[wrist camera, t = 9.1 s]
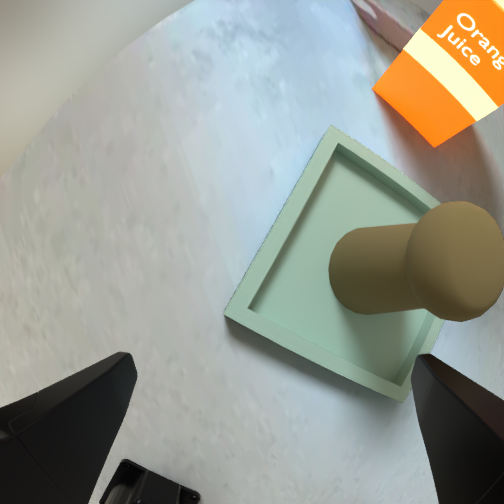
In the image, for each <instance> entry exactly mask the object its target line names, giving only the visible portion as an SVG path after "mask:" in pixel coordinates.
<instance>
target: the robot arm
mask: <svg viewBox="0 0 504 504" xmlns="http://www.w3.org/2000/svg"><path fill="white" fill-rule="evenodd" d="M136 381H137V370H136V367H135V364H134V361H133V357H132V355H131V354H130V353H127V352H117V353H115V354H113V355H111V356H109V357H107V358H105V359H103V360H101V361H99V362H97V363H95V364H93V365H91V366H89V367H87V368H85V369H83V370H81V371H79V372H77V373H75V374H73V375H71V376H69V377H67V378H65V379H63V380H61V381H59V382H57V383H55V384H53V385H51V386H49V387H46V388H44V389H42V390H40V391H39V392H36V393H34V394H32V395H30V396H28V397H25V398H23V399H21V400H19V401H16V402H14V403H11V404H9V405H6V406H3V407H1V408H0V504H88V503H89V500H90V498H91V495H92V493H93V490H94V488H95V485H96V483H97V480H98V478H99V475H100V473H101V471H102V468H103V466H104V463H105V461H106V459H107V456H108V454H109V452H110V449H111V447H112V445H113V442H114V440H115V438H116V435H117V433H118V431H119V429H120V426H121V424H122V422H123V419H124V417H125V415H126V412H127V409H128V406H129V402H130V399H131V396H132V393H133V390H134V387H135V384H136ZM411 385H412V390H413V395H414V401H415V406H416V412H417V417H418V422H419V426H420V430H421V433H422V436H423V440H424V444H425V447H426V451H427V455H428V459H429V462H430V466H431V470H432V475H433V479H434V483H435V487H436V492H437V496H438V501H439V504H504V400H502V399H501V398H499V397H498V396H496V395H495V394H493V393H491V392H490V391H488V390H487V389H485V388H484V387H482V386H480V385H479V384H477V383H476V382H474V381H473V380H471V379H469V378H468V377H466V376H465V375H463V374H461V373H460V372H458V371H457V370H455V369H454V368H452V367H450V366H449V365H447V364H446V363H444V362H442V361H441V360H439V359H438V358H436V357H435V356H433V355H431V354H429V353H426V354H419V355H417V357H416V359H415V363H414V366H413V370H412V374H411ZM125 464H127V465H128V466H129V467H127V466H125ZM191 496H195V498H193V497H191ZM199 500H200V494H199V493H198V492H196V491H194V490H191V489H189V488H186V487H184V486H182V485H179V484H178V483H175V482H173V481H171V480H169V479H167V478H164V477H162V476H160V475H158V474H156V473H154V472H152V471H150V470H148V469H146V468H144V467H142V466H140V465H138V464H136V463H134V462H132V461H130V460H128V459H123V460H122V461H121V462H120V464H119V466H118V468H117V470H116V472H115V473H114V475H113V477H112V479H111V481H110V483H109V485H108V486H107V488H106V490H105V492H104V494H103V496H102V498H101V499H100V501H99V503H100V504H197V503H198V502H199ZM104 502H105V503H104Z"/></svg>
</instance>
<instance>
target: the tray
mask: <svg viewBox="0 0 504 504" xmlns="http://www.w3.org/2000/svg"><path fill="white" fill-rule="evenodd" d="M440 204H441V203H440V202H439V201H438V200H436V199H435V198H434V197H433V196H431V195H430V194H429V193H428V192H427V191H425V190H424V189H423V188H421V187H420V186H419V185H418V184H416V183H415V182H414V181H412V180H411V179H410V178H409V177H407V176H406V175H405V174H403V173H402V172H401V171H399V170H398V169H396V168H395V167H394V166H392V165H391V164H390V163H388V162H387V161H385V160H384V159H383V158H381V157H380V156H378V155H377V154H375V153H374V152H373V151H371V150H370V149H368V148H367V147H365V146H364V145H362V144H361V143H359V142H358V141H356V140H355V139H353V138H351V137H350V136H348V135H347V134H345V133H344V132H342V131H340V130H339V129H337V128H336V127H334V126H332V125H331V126H330V127H329V128H328V130H327V131H326V133H325V134H324V135H323V137H322V139H321V141H320V142H319V144H318V146H317V148H316V149H315V151H314V153H313V155H312V157H311V158H310V160H309V162H308V164H307V165H306V167H305V169H304V171H303V173H302V174H301V176H300V178H299V180H298V181H297V183H296V185H295V187H294V189H293V190H292V192H291V194H290V196H289V197H288V199H287V201H286V203H285V204H284V206H283V208H282V210H281V212H280V213H279V215H278V217H277V219H276V220H275V222H274V224H273V226H272V227H271V229H270V231H269V233H268V234H267V236H266V238H265V240H264V242H263V243H262V245H261V247H260V249H259V250H258V252H257V254H256V256H255V257H254V259H253V261H252V263H251V264H250V266H249V268H248V270H247V271H246V273H245V275H244V277H243V278H242V280H241V282H240V284H239V286H238V287H237V289H236V291H235V293H234V294H233V296H232V298H231V300H230V301H229V303H228V305H227V307H226V308H225V310H224V315H226V316H227V317H229V318H231V319H233V320H235V321H236V322H238V323H240V324H242V325H244V326H246V327H247V328H249V329H251V330H253V331H255V332H257V333H258V334H260V335H262V336H264V337H266V338H268V339H270V340H272V341H274V342H275V343H277V344H279V345H281V346H283V347H285V348H287V349H289V350H291V351H293V352H295V353H297V354H299V355H301V356H303V357H305V358H307V359H309V360H311V361H313V362H315V363H317V364H319V365H321V366H323V367H325V368H327V369H329V370H331V371H333V372H335V373H337V374H339V375H342V376H344V377H346V378H348V379H350V380H352V381H354V382H357V383H359V384H361V385H363V386H365V387H367V388H370V389H372V390H374V391H376V392H379V393H381V394H383V395H385V396H388V397H390V398H392V399H394V400H397V401H399V402H401V403H404V401H405V399H406V398H407V396H408V394H409V392H410V390H411V389H412V385H411V374H412V370H413V366H414V363H415V359H416V357H417V355H419V354H426V353H430V351H431V349H432V347H433V345H434V343H435V341H436V338H437V336H438V334H439V332H440V329H441V327H442V325H443V322H444V319H440V318H438V317H436V316H435V315H433V314H432V313H430V312H429V311H427V310H426V309H416V310H408V311H400V312H391V313H381V314H371V315H365V314H359V313H354V312H353V311H351V310H349V309H347V308H346V307H344V306H343V305H342V304H341V302H340V301H339V300H338V299H337V298H336V297H335V294H334V292H333V290H332V287H331V285H330V280H329V272H328V267H329V262H330V256H331V253H332V251H333V249H334V247H335V245H336V243H337V242H338V241H339V240H340V239H341V238H342V237H343V236H344V235H345V234H346V233H348V232H350V231H352V230H354V229H356V228H364V227H375V226H386V225H397V224H409V223H417V222H418V221H419V220H420V219H421V217H422V216H423V215H424V214H425V213H427V212H428V211H429V210H431V209H433V208H435V207H436V206H438V205H440Z"/></svg>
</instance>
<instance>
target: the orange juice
mask: <svg viewBox="0 0 504 504" xmlns="http://www.w3.org/2000/svg"><path fill="white" fill-rule="evenodd" d="M372 89H373V90H374V91H375V92H376V93H378V94H379V95H380V96H381V97H382V98H383V99H385V100H386V101H387V102H388V103H389V104H390V105H391V106H392V107H393V108H395V109H396V110H397V111H398V112H399V113H400V114H401V115H402V116H403V117H404V118H405V119H406V120H407V121H408V122H409V123H411V124H412V125H413V126H414V127H415V128H416V129H417V130H418V131H419V132H420V133H421V134H422V135H423V136H424V137H425V139H426V140H427V141H428V142H429V143H430V144H431V145H432V146H433V147H434V148H435V147H436V146H438V145H440V144H441V143H443V142H444V141H446V140H447V139H449V138H450V137H452V136H454V135H455V134H457V133H458V132H460V131H461V130H463V129H465V128H466V127H468V126H469V125H471V124H472V123H474V122H475V121H478V120H480V119H481V118H483V117H484V116H486V115H488V114H489V113H491V112H492V111H494V110H495V109H497V108H498V107H499V106H500V105H502V104H503V103H504V0H443V2H442V3H441V4H440V5H439V7H438V8H437V9H436V10H435V11H434V13H433V14H432V15H431V16H430V18H429V19H428V20H427V21H426V22H425V24H424V25H423V26H422V27H421V28H420V29H419V30H418V31H417V33H416V34H415V35H414V36H413V38H412V39H411V40H410V41H409V42H408V44H407V45H406V46H405V47H404V50H403V51H402V52H401V53H400V54H399V56H398V57H397V58H396V59H395V61H394V62H393V63H392V64H391V66H390V67H389V68H388V69H387V71H386V72H385V73H384V74H383V76H382V77H381V78H380V79H379V81H378V82H377V83H376V84H375V86H374V87H373V88H372Z"/></svg>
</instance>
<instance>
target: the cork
mask: <svg viewBox="0 0 504 504" xmlns="http://www.w3.org/2000/svg"><path fill="white" fill-rule="evenodd" d="M328 272H329V280H330V285H331V287H332V290H333V292H334V294H335V297H336V298H337V299H338V300H339V301H340V302H341V304H342V305H343V306H344V307H346V308H347V309H349V310H351V311H353V312H354V313H359V314H365V315H371V314H381V313H391V312H400V311H408V310H416V309H426V310H427V311H429V312H430V313H432V314H433V315H435V316H436V317H438V318H440V319H444V320H451V321H458V322H463V321H467V320H471V319H473V318H476V317H479V316H481V315H482V314H484V313H485V312H486V311H487V310H488V309H489V308H490V307H491V306H492V305H493V304H494V303H495V302H496V301H497V299H498V297H499V296H500V294H501V292H502V290H503V286H504V239H503V235H502V232H501V230H500V228H499V226H498V225H497V223H496V221H495V219H494V218H493V217H492V216H491V215H490V214H489V213H488V212H487V211H486V210H484V209H483V208H481V207H479V206H477V205H475V204H472V203H470V202H468V201H449V202H445V203H443V204H440V205H438V206H436V207H435V208H433V209H431V210H429V211H428V212H427V213H425V214H424V215H423V216H422V217H421V219H420V220H419V221H418V222H417V223H409V224H397V225H386V226H375V227H364V228H356V229H354V230H352V231H350V232H348V233H346V234H345V235H344V236H343V237H342V238H341V239H340V240H339V241H338V242H337V243H336V245H335V247H334V249H333V251H332V253H331V256H330V262H329V267H328Z"/></svg>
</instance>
